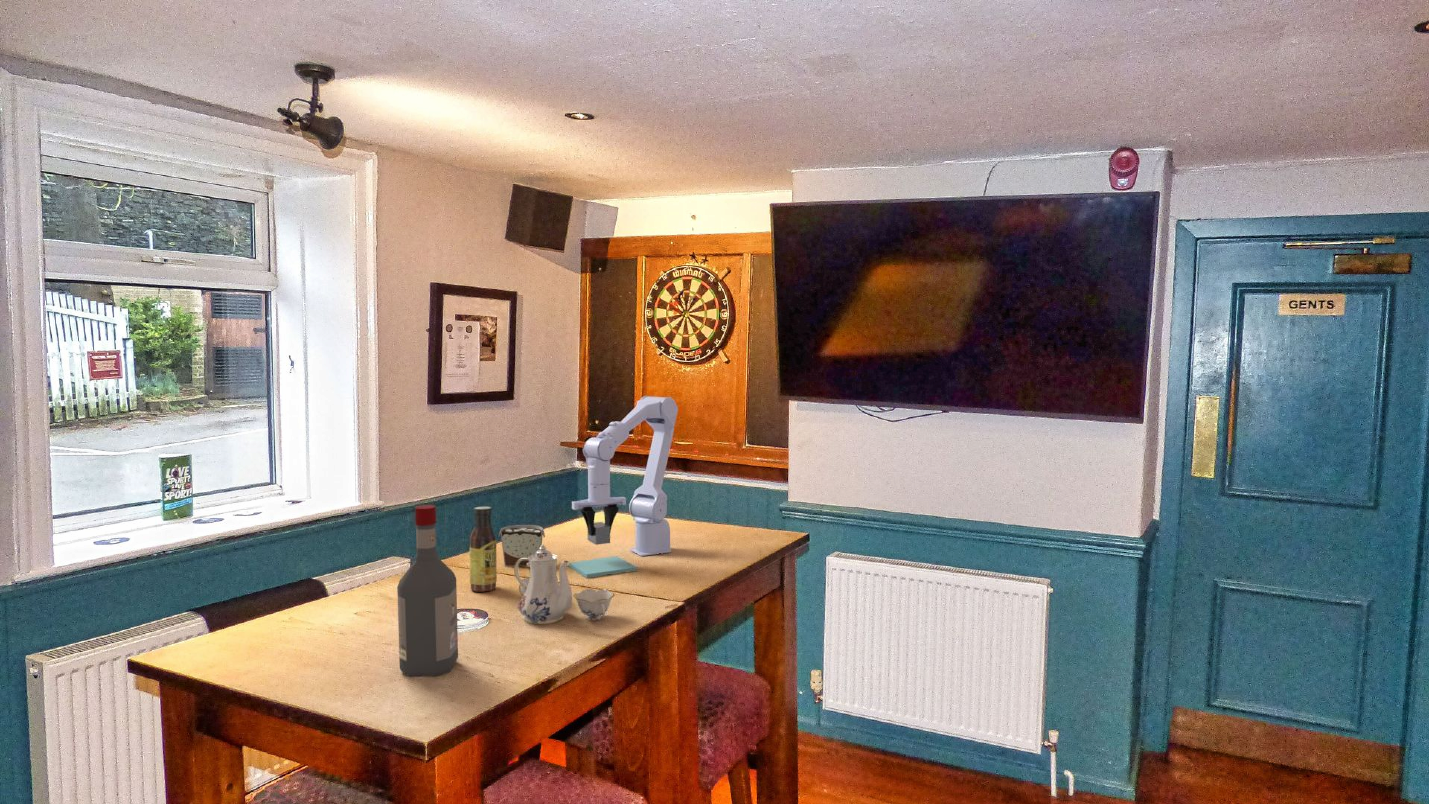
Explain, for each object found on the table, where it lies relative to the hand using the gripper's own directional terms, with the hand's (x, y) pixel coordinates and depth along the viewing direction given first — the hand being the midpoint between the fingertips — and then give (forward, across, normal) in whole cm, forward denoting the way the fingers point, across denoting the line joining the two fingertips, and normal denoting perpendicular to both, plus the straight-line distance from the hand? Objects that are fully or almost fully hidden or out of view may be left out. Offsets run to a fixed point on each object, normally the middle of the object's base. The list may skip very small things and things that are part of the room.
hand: (599, 534), depth 231 cm
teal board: (+9, 0, +2) cm, 9 cm away
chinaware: (+9, +24, +32) cm, 41 cm away
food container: (+9, +16, -12) cm, 22 cm away
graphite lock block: (+2, 0, 0) cm, 2 cm away
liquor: (+9, +54, +51) cm, 75 cm away
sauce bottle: (+9, +32, +6) cm, 34 cm away
